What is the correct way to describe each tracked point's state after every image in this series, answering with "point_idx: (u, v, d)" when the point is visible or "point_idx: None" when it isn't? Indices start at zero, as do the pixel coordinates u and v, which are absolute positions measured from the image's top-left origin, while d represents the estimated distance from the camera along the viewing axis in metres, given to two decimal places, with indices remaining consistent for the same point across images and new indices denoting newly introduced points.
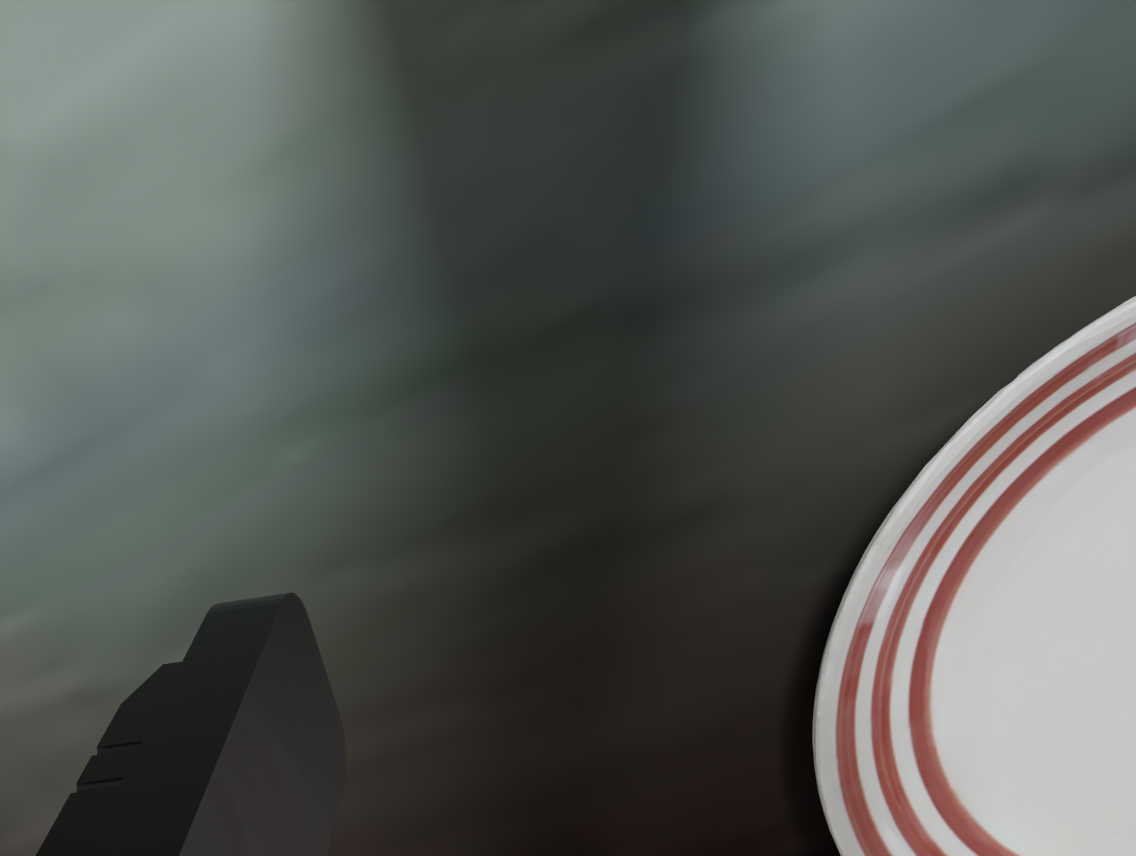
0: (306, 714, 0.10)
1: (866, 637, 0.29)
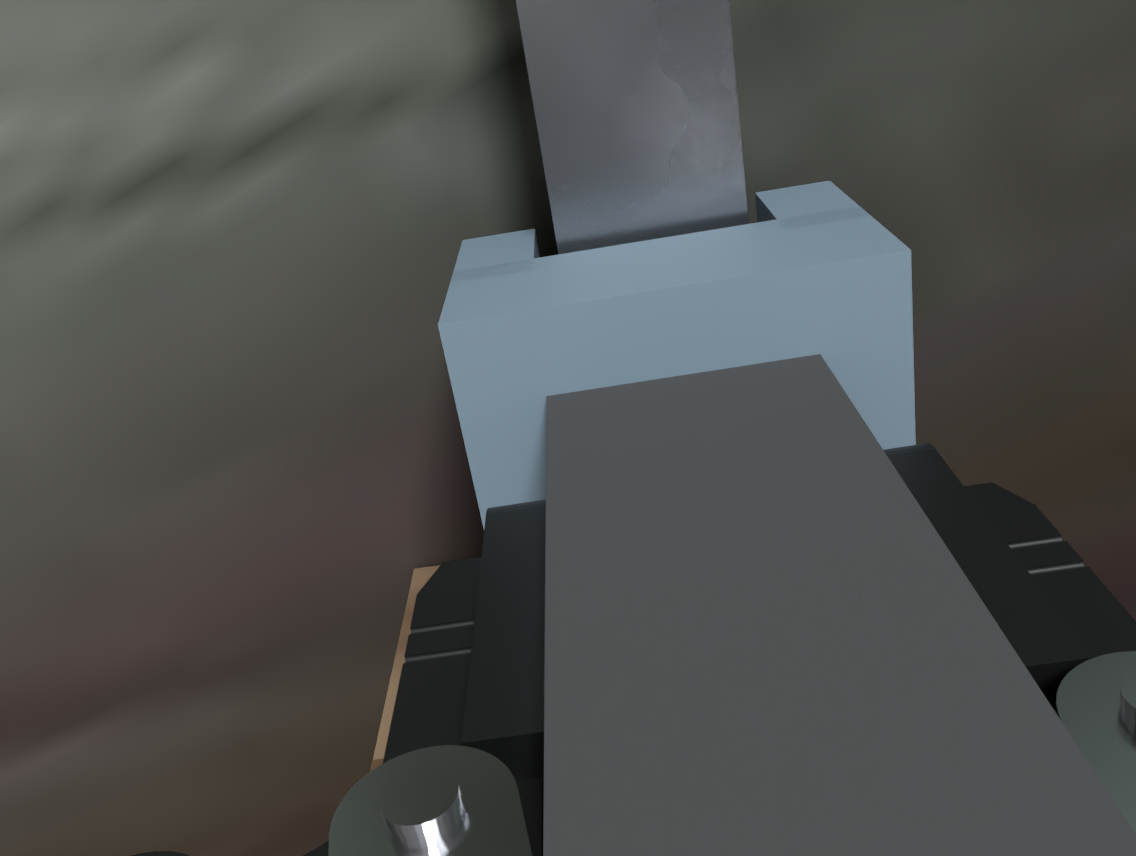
0: None
1: None
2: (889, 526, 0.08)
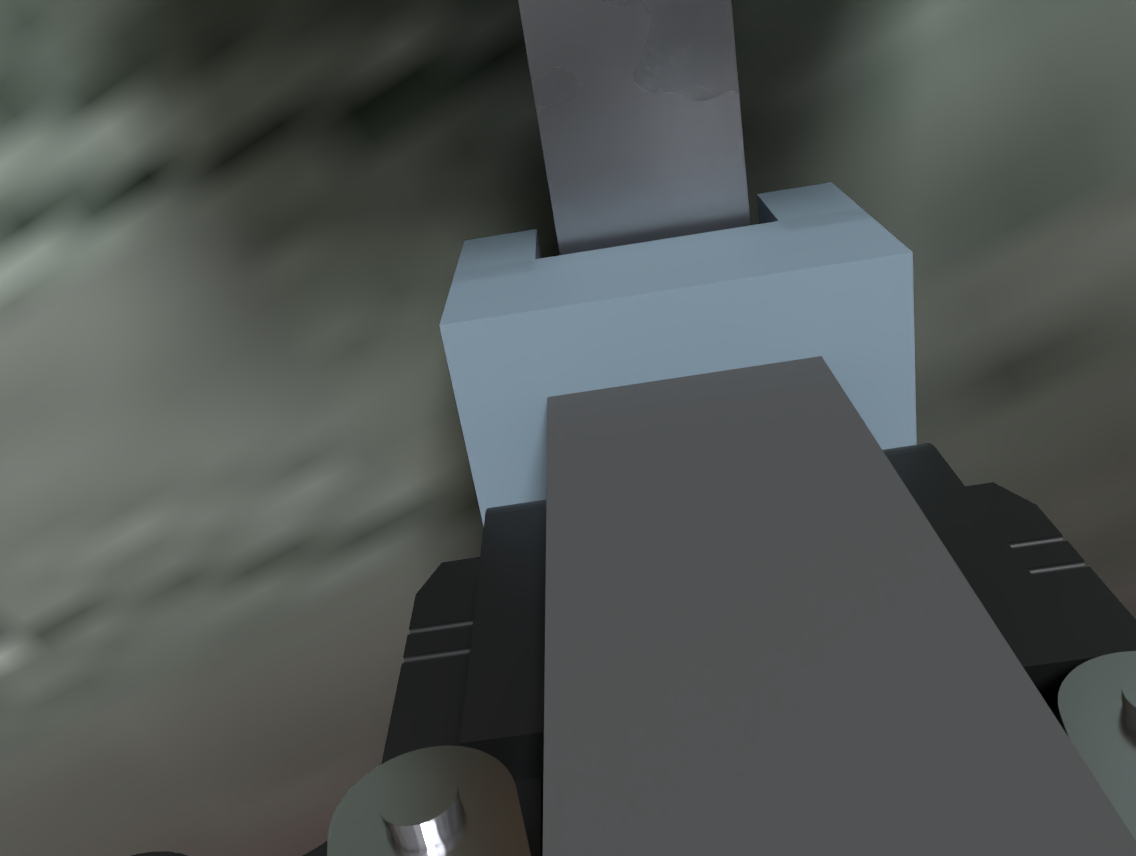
0: None
1: None
2: (889, 529, 0.08)
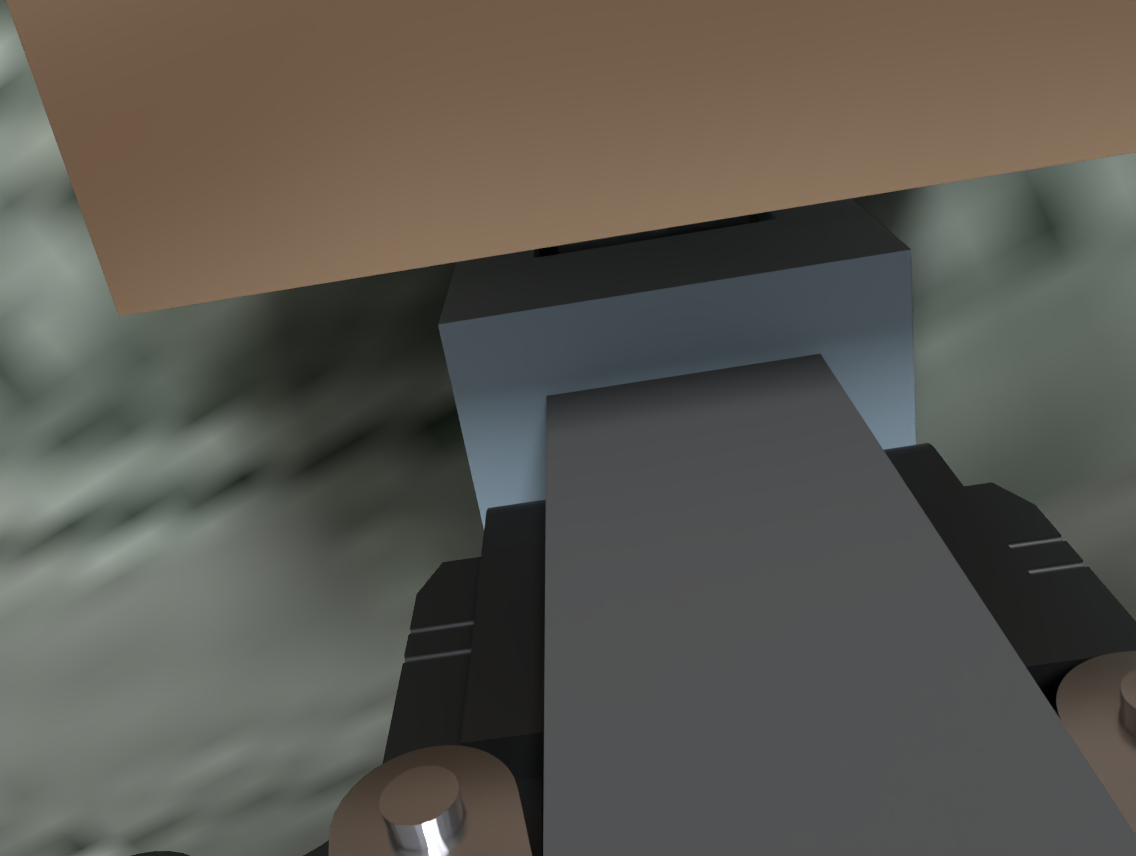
0: None
1: None
2: (888, 526, 0.08)
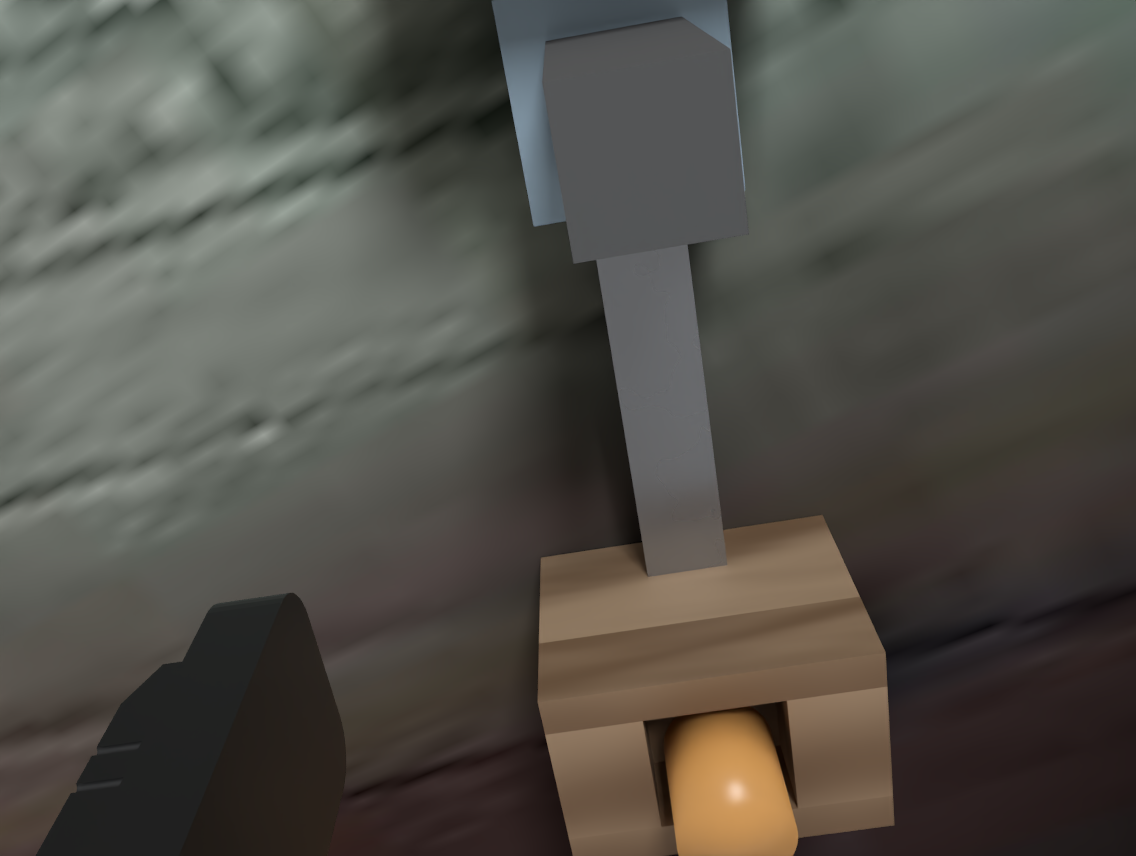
0: (306, 714, 0.10)
1: None
2: (686, 33, 0.20)
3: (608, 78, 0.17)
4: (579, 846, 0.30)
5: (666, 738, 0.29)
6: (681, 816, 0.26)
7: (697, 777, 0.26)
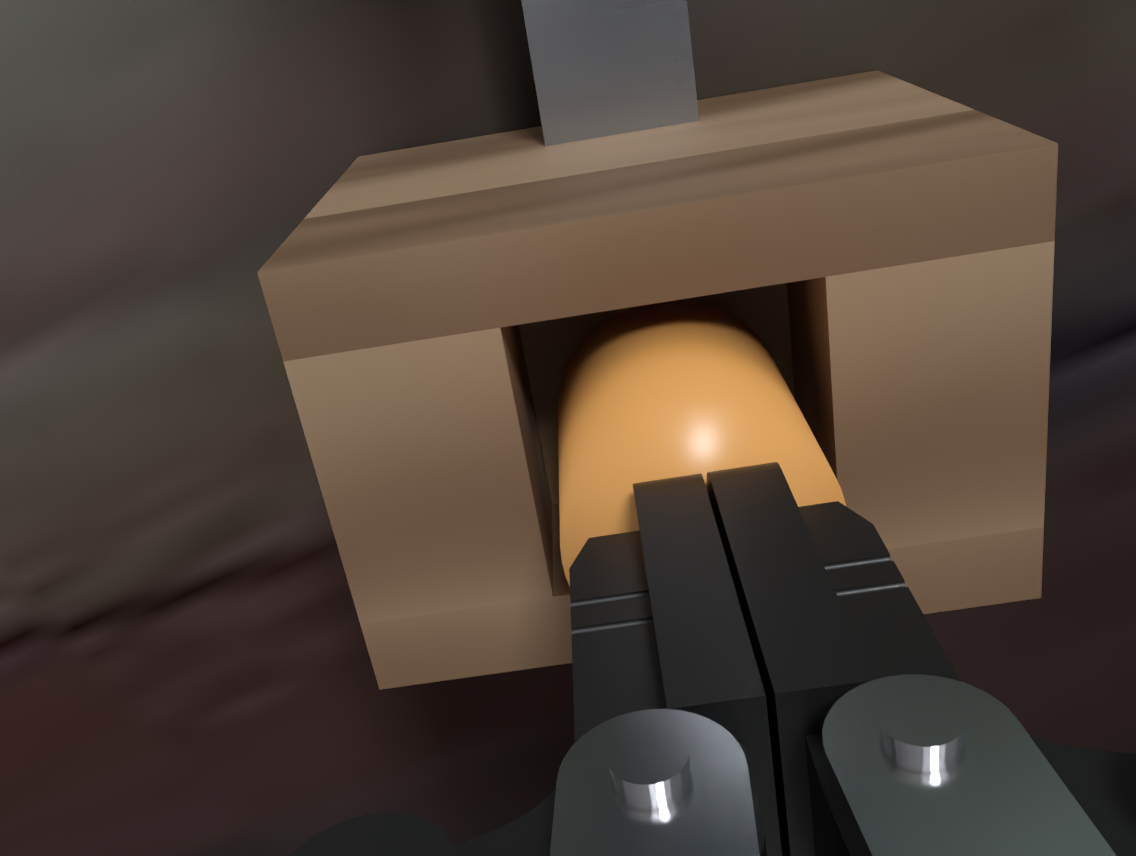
0: None
1: None
2: None
3: None
4: (382, 640, 0.14)
5: (561, 387, 0.14)
6: (571, 480, 0.11)
7: (612, 402, 0.11)
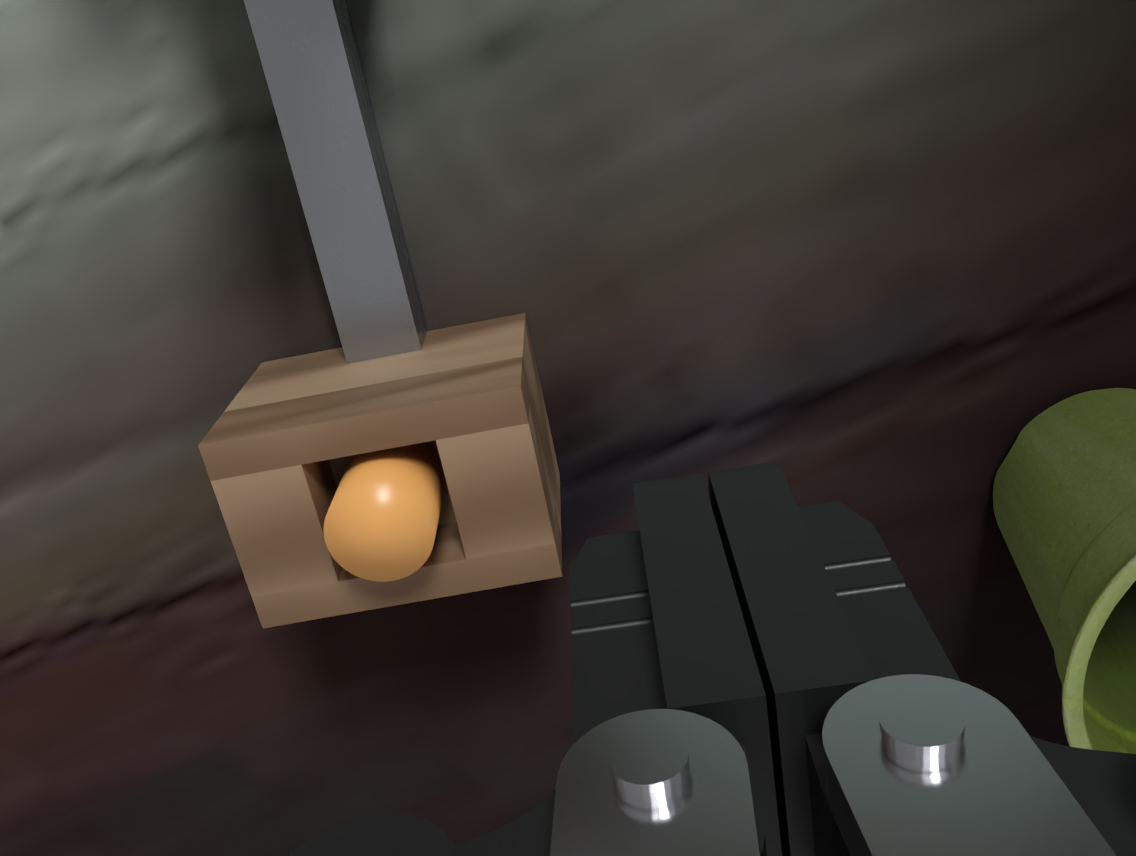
0: None
1: None
2: None
3: None
4: (262, 604, 0.31)
5: None
6: None
7: (346, 480, 0.29)
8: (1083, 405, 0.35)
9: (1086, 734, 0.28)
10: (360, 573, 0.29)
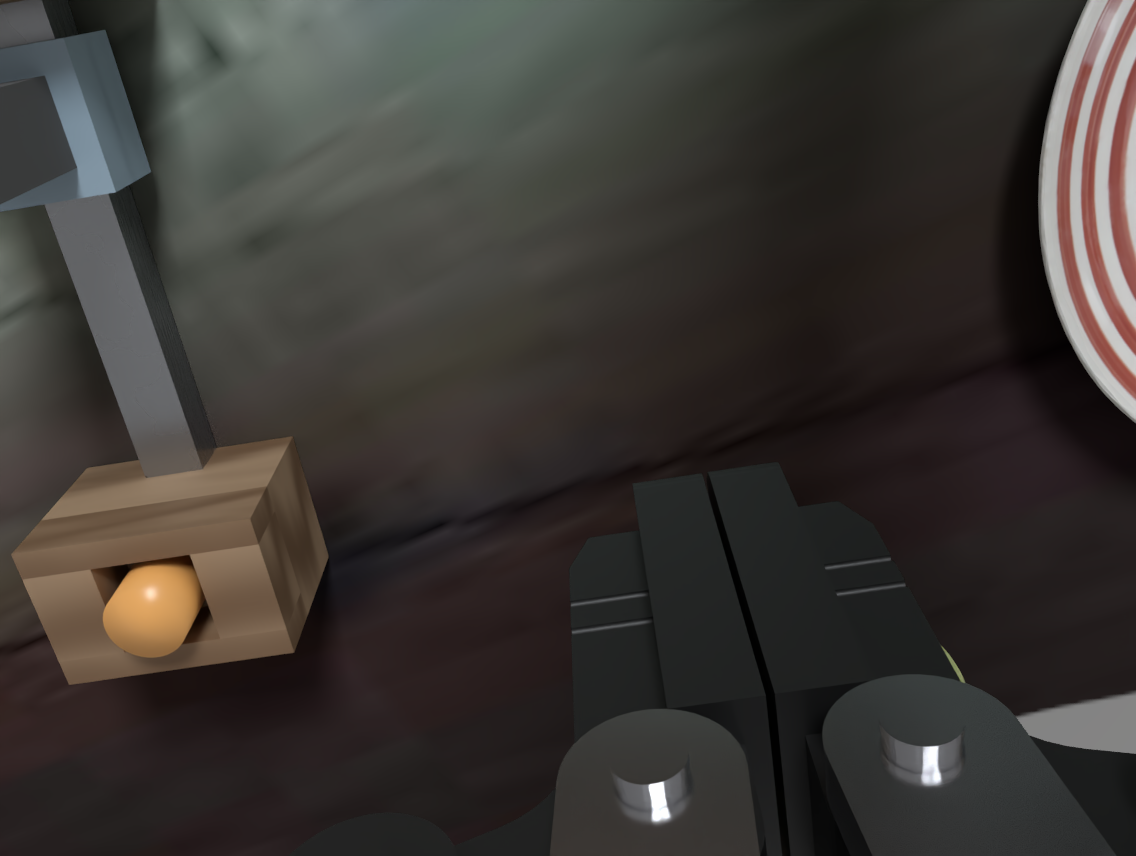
0: None
1: (1086, 79, 0.37)
2: None
3: None
4: (67, 667, 0.41)
5: None
6: (106, 606, 0.38)
7: (123, 582, 0.39)
8: None
9: None
10: (133, 651, 0.39)
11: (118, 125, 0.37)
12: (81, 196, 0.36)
